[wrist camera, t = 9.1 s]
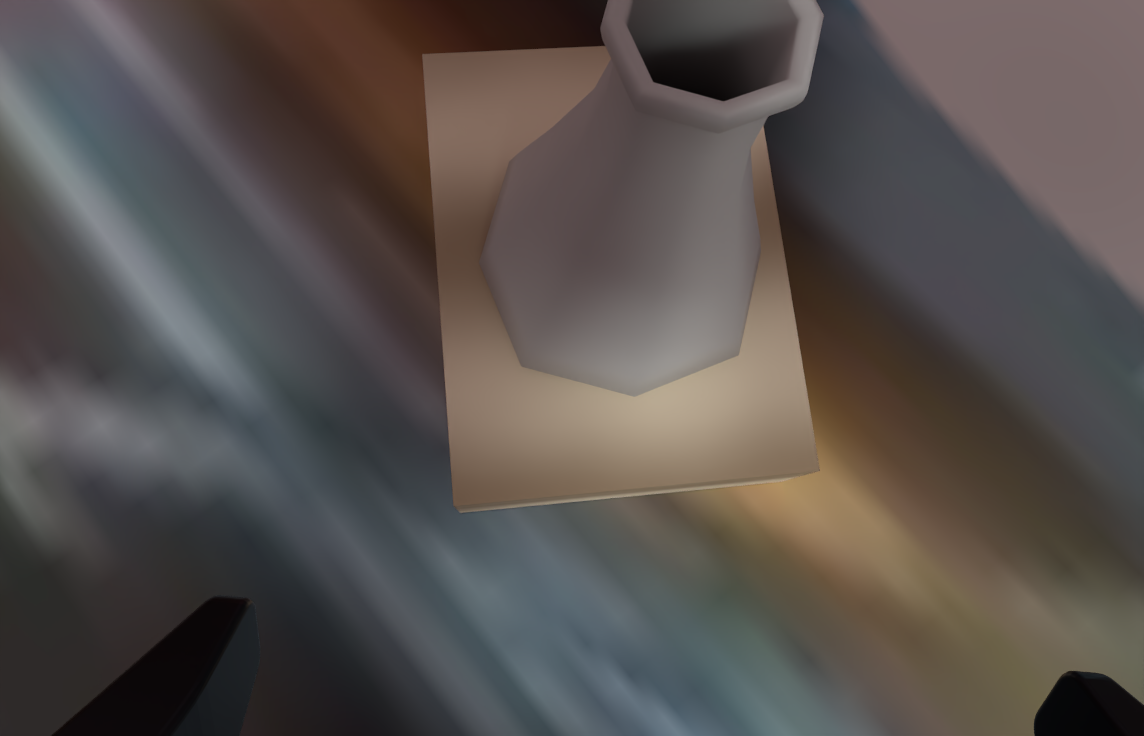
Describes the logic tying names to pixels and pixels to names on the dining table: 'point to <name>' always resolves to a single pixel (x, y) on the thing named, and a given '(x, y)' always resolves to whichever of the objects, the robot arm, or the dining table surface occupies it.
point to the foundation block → (566, 407)
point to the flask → (648, 195)
